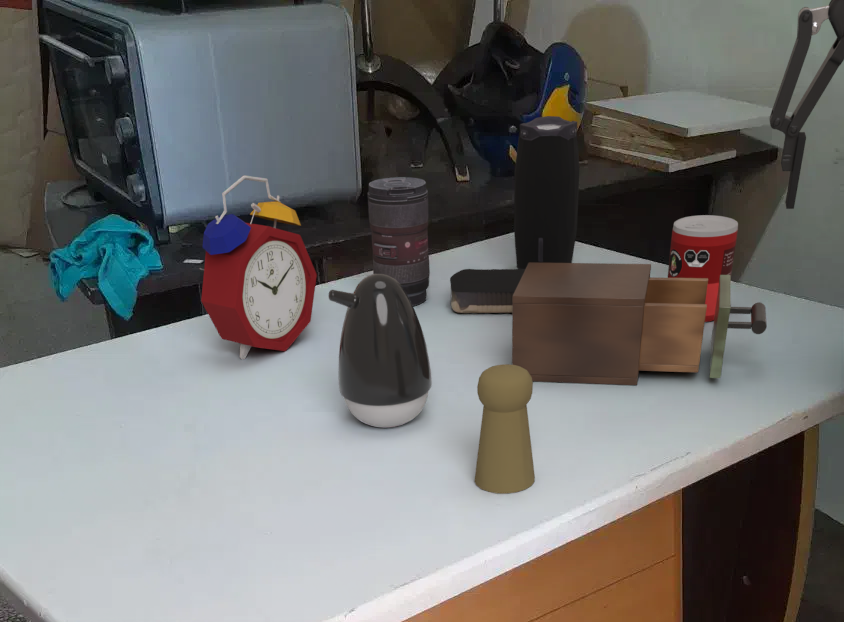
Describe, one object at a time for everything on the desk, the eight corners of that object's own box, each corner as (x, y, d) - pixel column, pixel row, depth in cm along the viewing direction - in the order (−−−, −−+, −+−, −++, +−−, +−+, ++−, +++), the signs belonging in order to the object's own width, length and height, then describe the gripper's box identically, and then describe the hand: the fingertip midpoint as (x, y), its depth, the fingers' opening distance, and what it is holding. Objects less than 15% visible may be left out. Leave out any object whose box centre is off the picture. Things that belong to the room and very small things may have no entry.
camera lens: (438, 304, 142) (434, 185, 132) (382, 312, 140) (374, 192, 130) (423, 288, 148) (418, 172, 138) (369, 295, 146) (360, 179, 136)
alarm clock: (246, 370, 127) (217, 192, 113) (198, 357, 131) (165, 184, 118) (324, 333, 135) (305, 164, 122) (277, 323, 139) (254, 158, 126)
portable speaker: (531, 263, 154) (535, 113, 141) (586, 271, 150) (594, 117, 137) (501, 278, 149) (502, 124, 136) (556, 287, 145) (563, 129, 132)
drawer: (757, 343, 122) (769, 275, 117) (759, 380, 114) (772, 308, 109) (609, 339, 126) (613, 272, 121) (600, 374, 118) (605, 304, 112)
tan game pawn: (464, 473, 102) (462, 364, 95) (519, 461, 104) (521, 352, 96) (488, 498, 98) (488, 386, 91) (545, 485, 99) (549, 374, 92)
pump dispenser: (330, 410, 116) (314, 268, 106) (416, 394, 118) (408, 254, 108) (355, 444, 109) (340, 296, 99) (446, 427, 111) (441, 280, 101)
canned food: (653, 309, 136) (662, 219, 129) (707, 301, 137) (718, 211, 130) (681, 327, 130) (692, 234, 123) (736, 318, 132) (750, 226, 125)
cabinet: (643, 346, 126) (651, 263, 120) (636, 385, 117) (644, 298, 111) (527, 342, 129) (528, 262, 123) (511, 380, 120) (512, 296, 113)
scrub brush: (570, 295, 142) (571, 267, 139) (566, 316, 135) (567, 287, 133) (455, 295, 144) (454, 268, 142) (446, 315, 138) (445, 287, 136)
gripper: (1011, -80, 92) (940, 196, 107) (766, -68, 96) (730, 196, 111) (1029, -75, 87) (951, 215, 101) (768, -63, 91) (730, 214, 106)
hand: (836, 205), depth 106 cm, fingers open, 9 cm apart
